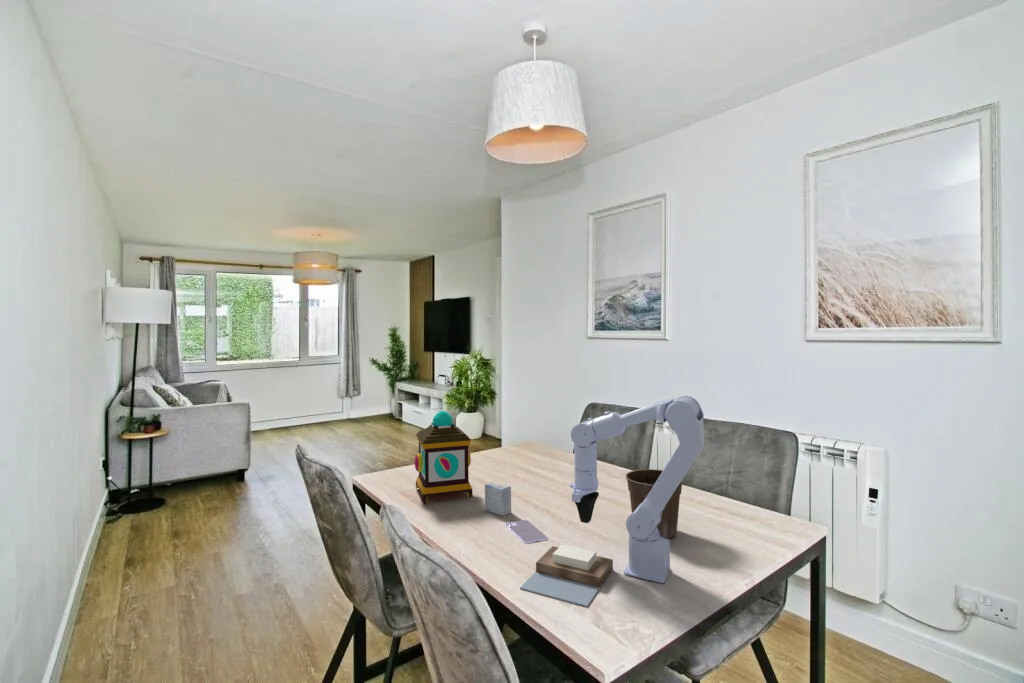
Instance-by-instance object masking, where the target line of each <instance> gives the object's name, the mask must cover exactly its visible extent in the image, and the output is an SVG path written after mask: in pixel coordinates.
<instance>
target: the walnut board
mask: <svg viewBox="0 0 1024 683" xmlns="http://www.w3.org/2000/svg"><path fill="white" fill-rule="evenodd" d="M558 548H559V547H558V546H554V545H552V546H551V547H550V548H549V549H548V550H547V551H546V552H545V553H544V554H543V555H542V556H541V557H540V558H539V559H538V560H537V561H536V562H535V572H538V573H542V574H546V575H550V576H554V577H558V578H562V579H566V580H570V581H574V582H578V583H582V584H586V585H590V586H594V587H598V588H600V589H601V588H602V586H603V585H604V583H605V581H606V580H607V579H608V577H609V576H610V575H611V573H612V572H613V570H614V564H613V563H614V560H613V559H612V558H608V557H603V556H599V555H596V561H595V562H594V563H593V565H592V566H591V567H590V569H589V570H584V569H580V568H576V567H572V566H567V565H563V564H559V563H555V562H553V553H554V552H555V551H556V550H557V549H558Z"/></svg>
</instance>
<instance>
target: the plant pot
mask: <svg viewBox="0 0 1024 683" xmlns="http://www.w3.org/2000/svg"><path fill="white" fill-rule="evenodd" d="M663 470H664V469H650V468H647V469H646V468H644V469H643V468H642V469H635V470H631V471H628V472H627V473H626V474H625V475H624V476H625V479H626V481H627V487H628V488H627V489H628V492H629V497H630V498H629V499H630V506H631V507H630V509H631V514H632V513H633V512H634V511H635V510H636V509H637V507H638V506H639V504H641V503H643V501H644V500H645V499H646V497H647V496H648V494H649V492H650V491H651V489H652V488H653V486H654V484H655V483H656V481H657V480H658V478H659V476H660V475H661V473H662V472H663ZM684 481H685V478H684V477H683V479H682V481H681V482H680V484H679V485H678V487H677V488H676V490H675V491H674V493H673V495H672V496H671V498H670V499H669V501H668V502H667V504H666V506H665V508H664V509H663V511H662V517H661V522H660V523H659V525H657V528H658V531H659V533H660V536H661V537H663V538H665V539H668V540H670V539H673V538H675V537H676V535H677V534H678V522H679V512H680V511H679V509H680V496H681V494H682V488H683V483H684Z"/></svg>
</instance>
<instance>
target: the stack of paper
mask: <svg viewBox="0 0 1024 683" xmlns="http://www.w3.org/2000/svg"><path fill="white" fill-rule="evenodd" d="M484 510H485V511H486V510H488V511H487V512H489V511H491V512H490V513H492V512H493V513H492V514H495V513H496V514H495V515H498V514H499V515H498V516H501V515H502V516H501V517H504V516H506V514H507V515H508V513H509V514H511V513H512V487H511V486H510V485H508V484H503V483H500V482H496V481H492V482H489V483H486V484H485V485H484ZM510 512H511V513H510ZM503 515H504V516H503Z"/></svg>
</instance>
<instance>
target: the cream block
mask: <svg viewBox="0 0 1024 683" xmlns="http://www.w3.org/2000/svg"><path fill="white" fill-rule="evenodd" d="M596 556H597V551H595V550H591V549H586V548H581V547H578V546H577V547H576V546H572V545H569V544H568V545H566V544H560V546H559V547H558V549H557V550H556V551H555V552H554V553H553V562H555V563H559V564H563V565H567V566H572V567H576V568H580V569H584V570H589V569H590V567H591V566H592V565H593V563H594V562H595V561H596Z"/></svg>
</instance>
